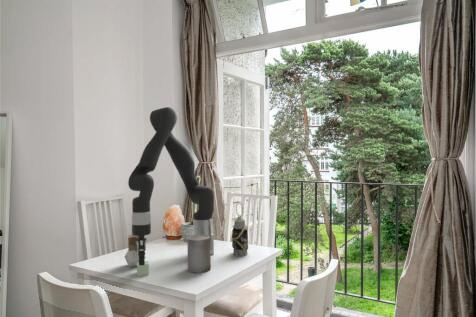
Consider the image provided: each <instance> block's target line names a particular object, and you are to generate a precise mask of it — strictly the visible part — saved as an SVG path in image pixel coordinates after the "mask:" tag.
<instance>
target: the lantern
mask: <svg viewBox="0 0 476 317" xmlns="http://www.w3.org/2000/svg"><path fill="white" fill-rule="evenodd" d="M238 204H240V206H241V209H242V213H241V215H239V214H238V211H237V208H238V207H237V206H238ZM235 212H236V214H237V216H238V217H237V218H236V219H234V220H233V221H234V224H233V226H232V231H231V242H232V244H231V246H232V249H233V251H232V252H233V255H235V256H246V255H247V254H248V250H249V236H248V235H249V234H248V233H249V232H248V231H249V227H248V225H247V224H246V220H245V219H244V218H243V217H242V216H243V213H244V207H243V205H242V203H241V202H237V203H236V206H235Z"/></svg>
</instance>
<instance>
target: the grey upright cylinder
mask: <svg viewBox="0 0 476 317" xmlns="http://www.w3.org/2000/svg"><path fill="white" fill-rule="evenodd" d="M186 239H187V240H186V241H187V271H189V273H200V274H201V273H205V272H209V271H210V270H211V268H212V264H211V262H212V261H211V259H212V258H211V255H212V254H211V253H210V236H208V235H194V234H192V235H189V236H188V237H186Z"/></svg>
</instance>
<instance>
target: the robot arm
mask: <svg viewBox="0 0 476 317" xmlns="http://www.w3.org/2000/svg"><path fill="white" fill-rule="evenodd" d="M149 121H150V124H151V127H152V128H153V130H154V131H155V133H154V135H153V137H152V138H151V139H150V140H149V141H148V142H147V144H146V146H145V148H144V149H143V151H142V153H141V156H140V160H139V161H138V164H137V165H136V166H135V168H134V169H133V170H132V172H131V174H130V176H129V178H128V182H127V184H128V188H129V189H130V190H131V191H134V192H139V193H138V194H139V195H138V196H136V197H134V198H133V199H132V204H131V205H132V207H131V208H132V210H131V211H132V213H131V235H134V236H139V238H137V251H139V253H138V255H139V265H144V264H145V261H146V260H145V259H146V258H145V256H146V250H147V240H148V239H147V237H146V236H149V235H150V234H151V233H152V227H151V226H152V220H151V219H152V216H151V199H152V195H153V191H154V187H155V182H154V178H153V176H152V175H150V174H149V173H151V172H154V171H155V169H156V167H157V165H158V162H159V159H160V156H161V153H162V151H163V149H164V147H165V150H166V151H167V153H168V155H169V156H170V159H171V161H172V163H173V165H174V167H175V168H176V170H177V173H178V175H179V176H180V178H181V181H182V182H183V185H184V187H185V190H186V191H187V194H188V198H189V199H190V201H191V202H192V203H193V204H195V205H198V210H197V211H195V212H193V215H192V218H193V219H192V220H193V221H192V222H193V235H208V236H210V253H211V255H214V254H215V244H214V243H215V242H214V234H213V214H214V210H215V209H214V208H215V206H214V204H215V194H214V190H213V189H212V187H210V186H206V185H201V184H200V183H199V181H198V179H197V177H196V174H195V166H196V165H195V159H194V157H193V156H192V152H191V151H190V149H189V148H188V147H187V146H186V144H185V143H183V142H182V141H181V140H180V139H178V137H177V136H175V134H174V132H173V130H174V128H175V126H176V124H177V121H178V115H177V111H175V109H174V108H172V107H169V106H167V107H161V108H158V109H157V108H156V109H155V110H152V111H151V112H150V114H149Z"/></svg>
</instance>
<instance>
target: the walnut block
mask: <svg viewBox="0 0 476 317" xmlns="http://www.w3.org/2000/svg"><path fill="white" fill-rule="evenodd" d="M137 238H139V236H134V235H132V234H128V236H127V239H128V240H127V241H128V242H127V243H128V245H127V246H128V250H137ZM128 250H127V251H128Z"/></svg>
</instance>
